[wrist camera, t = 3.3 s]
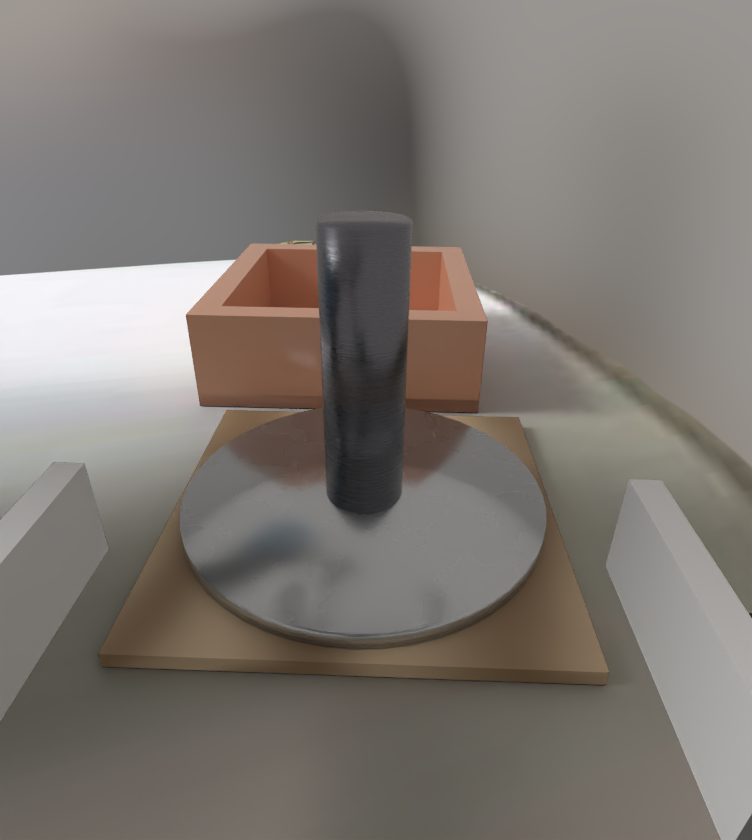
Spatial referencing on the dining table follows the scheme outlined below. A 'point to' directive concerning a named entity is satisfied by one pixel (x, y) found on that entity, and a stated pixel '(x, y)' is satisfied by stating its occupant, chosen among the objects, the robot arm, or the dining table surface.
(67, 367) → the dining table surface
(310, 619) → the lid
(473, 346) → the terracotta square tray
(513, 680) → the trivet
